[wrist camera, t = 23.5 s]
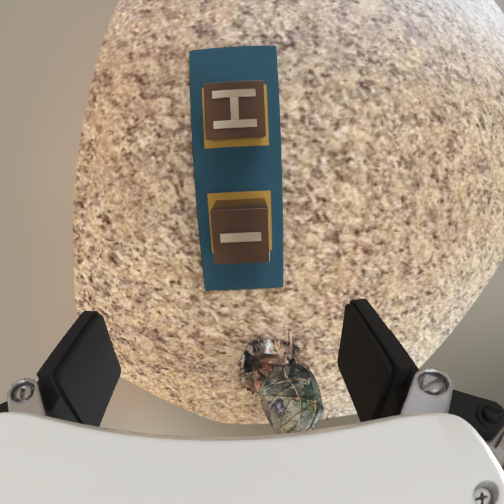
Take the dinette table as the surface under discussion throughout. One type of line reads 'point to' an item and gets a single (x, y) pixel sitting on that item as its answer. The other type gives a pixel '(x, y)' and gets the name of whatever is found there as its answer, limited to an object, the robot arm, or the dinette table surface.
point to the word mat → (238, 163)
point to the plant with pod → (282, 385)
